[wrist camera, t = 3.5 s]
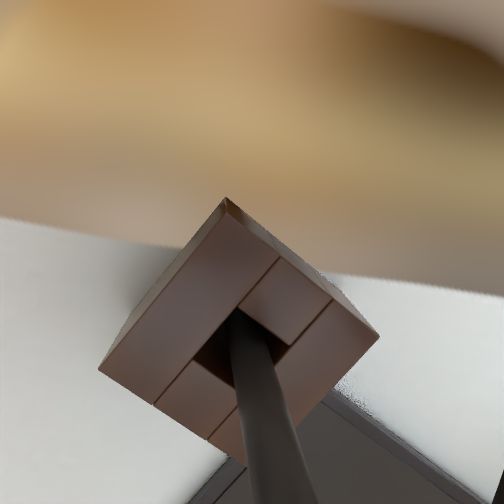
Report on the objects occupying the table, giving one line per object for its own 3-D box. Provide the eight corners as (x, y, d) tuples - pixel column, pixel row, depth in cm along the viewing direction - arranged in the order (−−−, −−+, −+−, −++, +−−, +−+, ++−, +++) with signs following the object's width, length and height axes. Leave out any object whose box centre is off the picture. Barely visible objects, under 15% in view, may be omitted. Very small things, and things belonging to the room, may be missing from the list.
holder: (130, 314, 19) (96, 370, 14) (225, 196, 18) (226, 211, 13) (246, 396, 20) (254, 473, 15) (341, 291, 19) (381, 337, 14)
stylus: (215, 305, 19) (268, 735, 6) (234, 282, 19) (337, 674, 5) (238, 321, 19) (339, 759, 6) (257, 299, 19) (405, 702, 6)
